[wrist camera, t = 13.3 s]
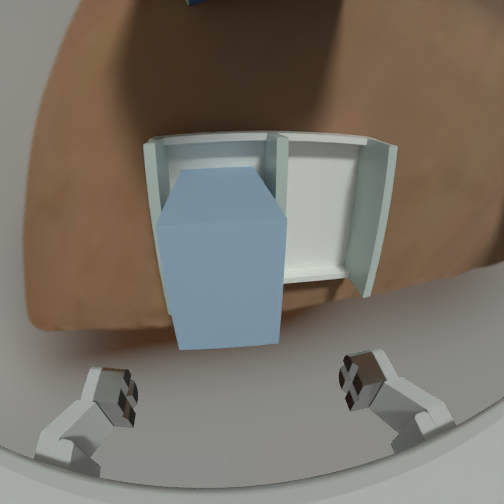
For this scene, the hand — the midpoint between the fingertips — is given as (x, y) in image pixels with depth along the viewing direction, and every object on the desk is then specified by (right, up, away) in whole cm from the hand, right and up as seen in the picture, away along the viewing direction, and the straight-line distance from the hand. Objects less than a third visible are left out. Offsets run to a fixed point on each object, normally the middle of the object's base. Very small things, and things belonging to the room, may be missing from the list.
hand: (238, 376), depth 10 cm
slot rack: (+2, +9, +17) cm, 19 cm away
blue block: (-2, +8, +15) cm, 18 cm away
